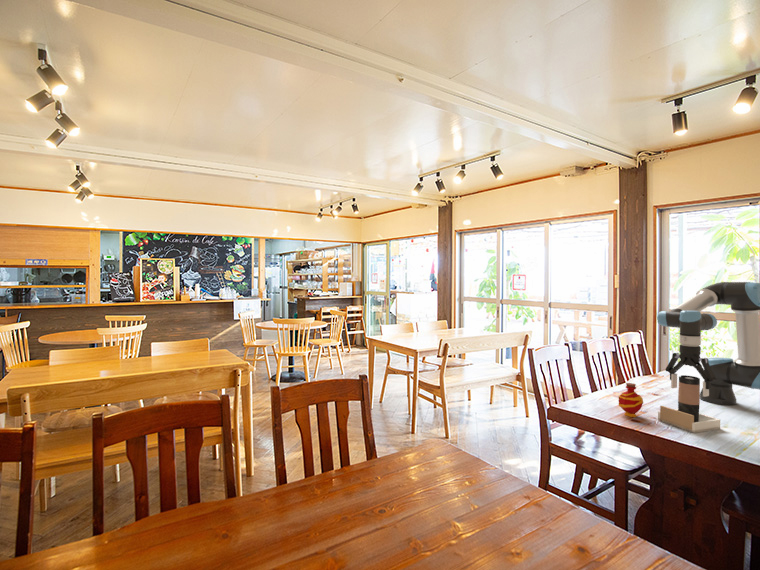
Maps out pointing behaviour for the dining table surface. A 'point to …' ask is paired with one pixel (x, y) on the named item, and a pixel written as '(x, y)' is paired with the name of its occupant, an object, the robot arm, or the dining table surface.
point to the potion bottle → (630, 401)
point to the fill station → (687, 420)
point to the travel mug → (689, 395)
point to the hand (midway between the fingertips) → (689, 391)
